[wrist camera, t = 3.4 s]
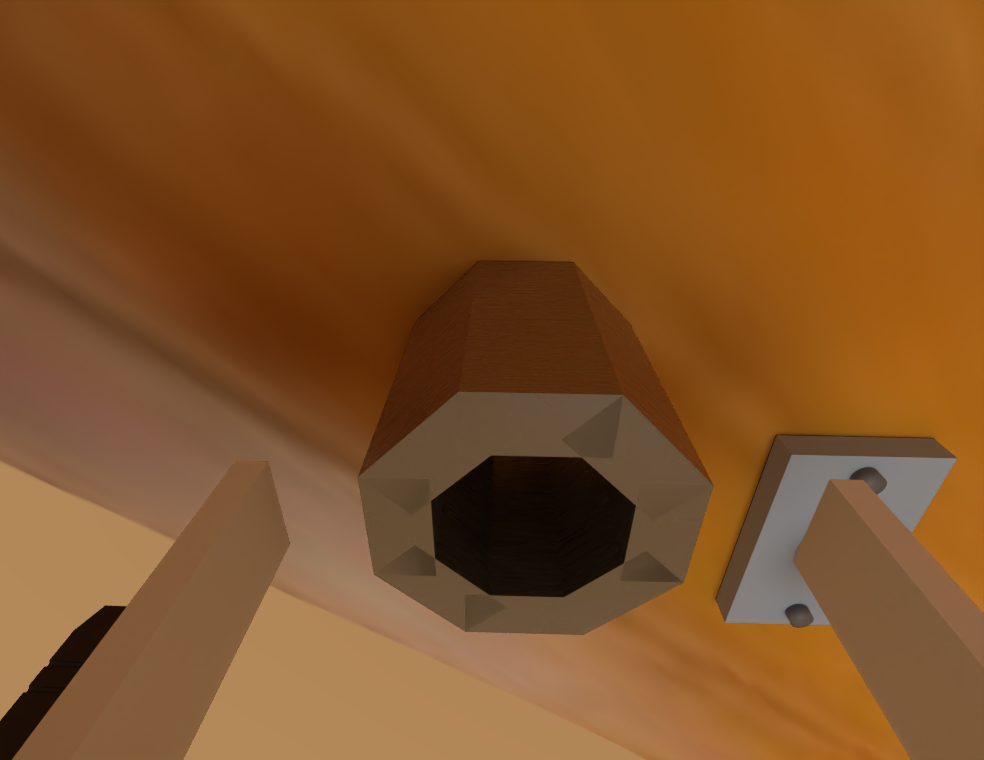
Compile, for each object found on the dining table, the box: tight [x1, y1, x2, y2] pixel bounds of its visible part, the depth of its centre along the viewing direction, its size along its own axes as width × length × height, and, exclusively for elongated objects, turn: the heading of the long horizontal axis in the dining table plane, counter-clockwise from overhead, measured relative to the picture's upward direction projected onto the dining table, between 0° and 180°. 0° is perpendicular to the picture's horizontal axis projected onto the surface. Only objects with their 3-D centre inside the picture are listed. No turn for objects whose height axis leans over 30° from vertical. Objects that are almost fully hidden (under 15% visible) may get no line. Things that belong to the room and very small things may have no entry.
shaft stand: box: [716, 435, 957, 628], centre depth 19 cm, size 6×10×8 cm, turn 179°
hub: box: [358, 261, 714, 635], centre depth 15 cm, size 7×7×8 cm
